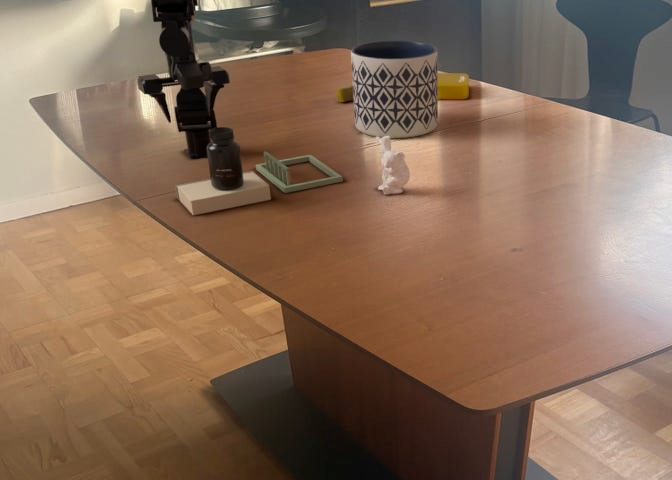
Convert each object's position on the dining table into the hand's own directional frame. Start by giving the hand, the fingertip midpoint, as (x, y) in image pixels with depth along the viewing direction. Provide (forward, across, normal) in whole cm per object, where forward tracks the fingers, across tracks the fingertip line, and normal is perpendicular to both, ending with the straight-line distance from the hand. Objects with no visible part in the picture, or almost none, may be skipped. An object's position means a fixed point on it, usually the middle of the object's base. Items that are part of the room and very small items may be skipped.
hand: (190, 119), depth 186 cm
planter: (+13, +57, +9) cm, 59 cm away
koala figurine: (+13, +33, -33) cm, 48 cm away
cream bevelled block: (+13, 0, -18) cm, 23 cm away
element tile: (+13, +86, +32) cm, 93 cm away
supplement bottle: (+10, +1, -19) cm, 21 cm away
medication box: (+13, +60, +40) cm, 73 cm away
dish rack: (+13, +20, -12) cm, 27 cm away
